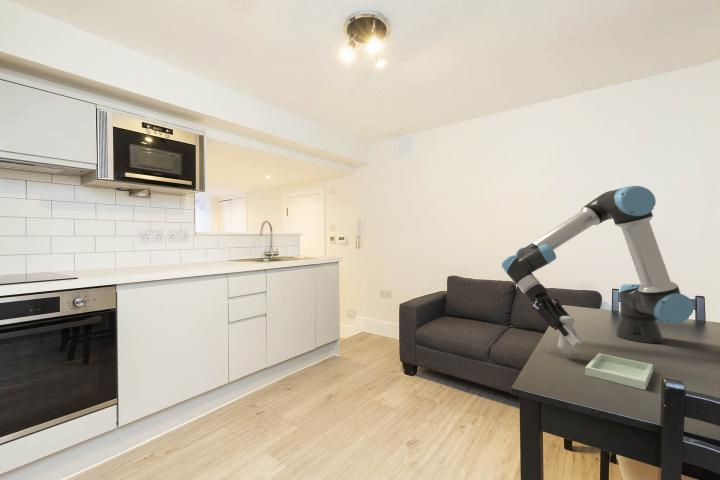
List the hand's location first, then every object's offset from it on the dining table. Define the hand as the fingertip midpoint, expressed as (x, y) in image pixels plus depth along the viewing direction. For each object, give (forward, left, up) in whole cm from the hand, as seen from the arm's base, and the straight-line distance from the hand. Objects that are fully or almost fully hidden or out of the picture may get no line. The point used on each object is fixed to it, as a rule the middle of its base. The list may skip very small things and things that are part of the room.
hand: (578, 342), depth 108 cm
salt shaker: (+2, -3, -5) cm, 6 cm away
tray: (-6, +10, -7) cm, 13 cm away
